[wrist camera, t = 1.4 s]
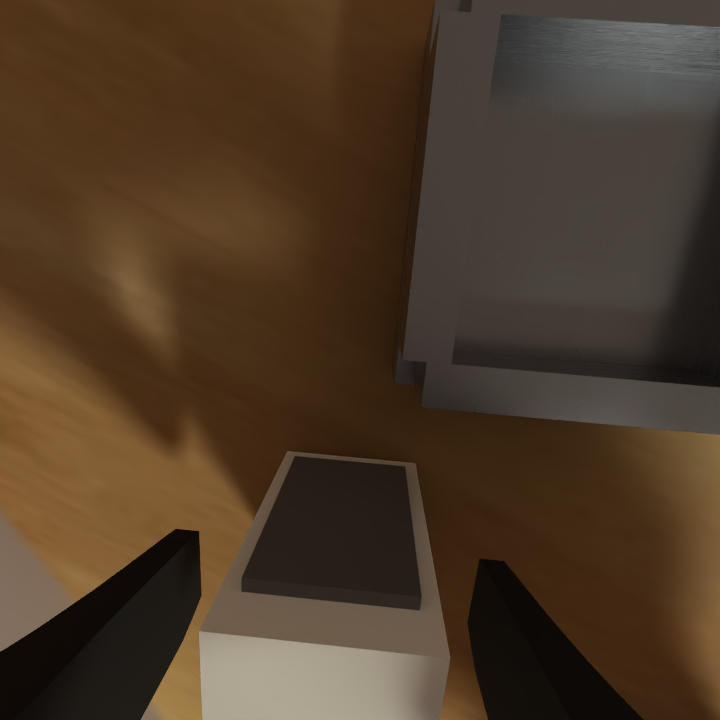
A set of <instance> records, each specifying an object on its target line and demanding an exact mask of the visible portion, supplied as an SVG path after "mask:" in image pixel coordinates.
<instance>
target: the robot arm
mask: <svg viewBox="0 0 720 720" xmlns="http://www.w3.org/2000/svg"><path fill="white" fill-rule="evenodd" d="M200 598H201V571H200V545H199V531H191V530H181V529H175V530H174V531H172V532H171V533H170V534H168V535H167V536H165V537H164V538H163V539H161V540H160V541H159V542H157V543H156V544H155V545H154V546H152V547H151V548H150V549H148V550H147V551H146V552H144V553H143V554H142V555H140V556H139V557H138V558H136V559H135V560H134V561H132V562H131V563H130V564H128V565H127V566H126V567H124V568H123V569H122V570H120V571H119V572H117V573H116V574H115V575H113V576H112V577H111V578H109V579H108V580H107V581H105V582H104V583H103V584H101V585H100V586H98V587H97V588H96V589H94V590H93V591H92V592H90V593H89V594H87V595H86V596H84V597H83V598H81V599H80V600H78V601H77V602H76V603H74V604H73V605H71V606H70V607H68V608H67V609H66V610H64V611H62V612H61V613H59V614H58V615H57V616H55V617H54V618H52V619H51V620H49V621H48V622H47V623H45V624H43V625H42V626H40V627H39V628H37V629H36V630H34V631H33V632H31V633H30V634H28V635H27V636H25V637H24V638H22V639H20V640H19V641H17V642H15V643H14V644H12V645H11V646H9V647H8V648H6V649H4V650H3V651H1V652H0V720H141V718H142V716H143V714H144V712H145V710H146V709H147V707H148V705H149V703H150V701H151V699H152V698H153V696H154V694H155V692H156V690H157V688H158V686H159V685H160V683H161V681H162V679H163V677H164V675H165V673H166V672H167V670H168V668H169V666H170V664H171V662H172V660H173V658H174V656H175V655H176V653H177V651H178V649H179V647H180V645H181V643H182V641H183V639H184V637H185V634H186V632H187V630H188V627H189V625H190V623H191V620H192V618H193V615H194V613H195V610H196V608H197V605H198V603H199V600H200ZM468 629H469V636H470V642H471V648H472V654H473V660H474V665H475V671H476V675H477V679H478V683H479V687H480V690H481V694H482V698H483V702H484V705H485V709H486V713H487V717H488V720H643V719H642V718H641V717H640V716H639V715H638V714H637V713H636V712H635V711H634V710H633V709H632V708H631V707H630V706H629V705H628V704H627V702H626V701H625V700H624V699H623V698H622V697H621V696H620V695H619V694H618V693H617V692H616V691H615V690H614V689H613V688H612V687H611V686H610V685H609V684H608V682H607V681H606V680H605V679H604V678H603V677H602V676H601V675H600V674H599V673H598V672H597V671H596V670H595V669H594V667H593V666H592V665H591V664H590V663H589V662H588V661H587V660H586V659H585V658H584V656H583V655H582V654H581V653H580V652H579V651H578V650H577V649H576V647H575V646H574V645H573V644H572V643H571V642H570V640H569V639H568V638H567V637H566V636H565V635H564V633H563V632H562V631H561V630H560V629H559V628H558V627H557V625H556V624H555V623H554V622H553V621H552V619H551V618H550V617H549V616H548V615H547V613H546V612H545V611H544V610H543V609H542V607H541V606H540V605H539V604H538V602H537V601H536V600H535V599H534V598H533V596H532V595H531V594H530V593H529V591H528V590H527V589H526V588H525V586H524V585H523V584H522V583H521V582H520V580H519V579H518V578H517V577H516V575H515V574H514V573H513V572H512V570H511V569H510V568H509V567H508V566H507V564H506V563H505V562H504V561H497V560H487V559H479V565H478V570H477V575H476V580H475V586H474V591H473V596H472V601H471V607H470V612H469V617H468Z"/></svg>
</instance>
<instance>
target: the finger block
mask: <svg viewBox="0 0 720 720" xmlns="http://www.w3.org/2000/svg"><path fill="white" fill-rule="evenodd" d="M199 642H200V668H201V694H202V720H440V715H441V709H442V704H443V698H444V692H445V687H446V681H447V676H448V670H449V664H450V653H449V647H448V642H447V636H446V631H445V625H444V620H443V614H442V608H441V603H440V597H439V592H438V586H437V581H436V575H435V569H434V564H433V558H432V553H431V547H430V542H429V536H428V530H427V525H426V519H425V514H424V508H423V503H422V497H421V491H420V486H419V480H418V475H417V469H416V464H415V463H409V462H399V461H388V460H377V459H367V458H356V457H346V456H335V455H324V454H314V453H303V452H293V451H287V453H286V455H285V457H284V459H283V461H282V463H281V465H280V467H279V469H278V471H277V473H276V475H275V477H274V479H273V481H272V483H271V485H270V487H269V489H268V491H267V493H266V495H265V498H264V500H263V502H262V504H261V506H260V508H259V510H258V512H257V514H256V516H255V518H254V520H253V522H252V524H251V526H250V528H249V530H248V532H247V534H246V536H245V538H244V540H243V542H242V545H241V547H240V549H239V551H238V553H237V555H236V557H235V559H234V561H233V563H232V565H231V567H230V569H229V571H228V573H227V575H226V577H225V579H224V581H223V583H222V585H221V587H220V589H219V592H218V594H217V596H216V598H215V600H214V602H213V604H212V606H211V608H210V610H209V612H208V614H207V616H206V618H205V620H204V622H203V624H202V626H201V628H200V630H199Z"/></svg>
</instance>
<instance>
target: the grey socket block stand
mask: <svg viewBox="0 0 720 720" xmlns="http://www.w3.org/2000/svg"><path fill="white" fill-rule="evenodd" d="M393 374H394V381H395V384H405V385H415V388H416V391H417V395H418V398H419V402H420V405H421V408H431V409H442V410H453V411H464V412H475V413H486V414H498V415H509V416H520V417H531V418H542V419H553V420H564V421H575V422H586V423H597V424H609V425H620V426H631V427H642V428H653V429H664V430H675V431H686V432H697V433H708V434H720V0H435V2H434V7H433V12H432V16H431V21H430V26H429V31H428V35H427V40H426V48H425V58H424V68H423V77H422V87H421V97H420V107H419V116H418V126H417V136H416V146H415V155H414V165H413V175H412V185H411V194H410V204H409V214H408V224H407V233H406V243H405V253H404V263H403V272H402V282H401V292H400V302H399V311H398V321H397V331H396V341H395V350H394V360H393Z"/></svg>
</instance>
